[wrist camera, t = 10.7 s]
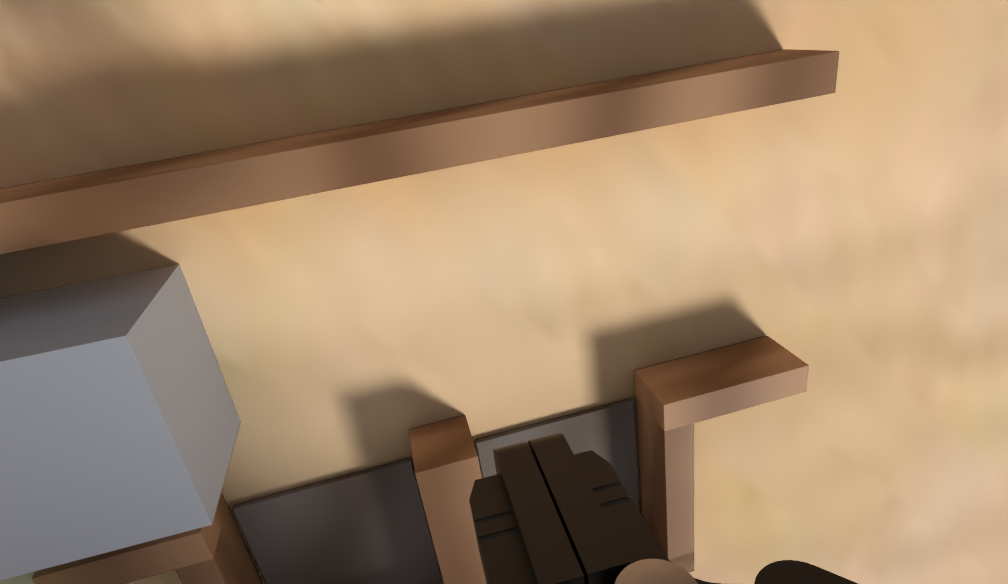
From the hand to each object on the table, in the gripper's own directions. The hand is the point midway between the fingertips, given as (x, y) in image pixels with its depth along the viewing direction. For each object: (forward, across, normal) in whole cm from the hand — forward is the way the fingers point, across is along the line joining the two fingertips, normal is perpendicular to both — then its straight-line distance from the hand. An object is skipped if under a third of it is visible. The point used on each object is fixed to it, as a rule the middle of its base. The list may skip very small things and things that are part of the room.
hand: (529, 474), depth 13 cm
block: (+9, +11, 0) cm, 15 cm away
